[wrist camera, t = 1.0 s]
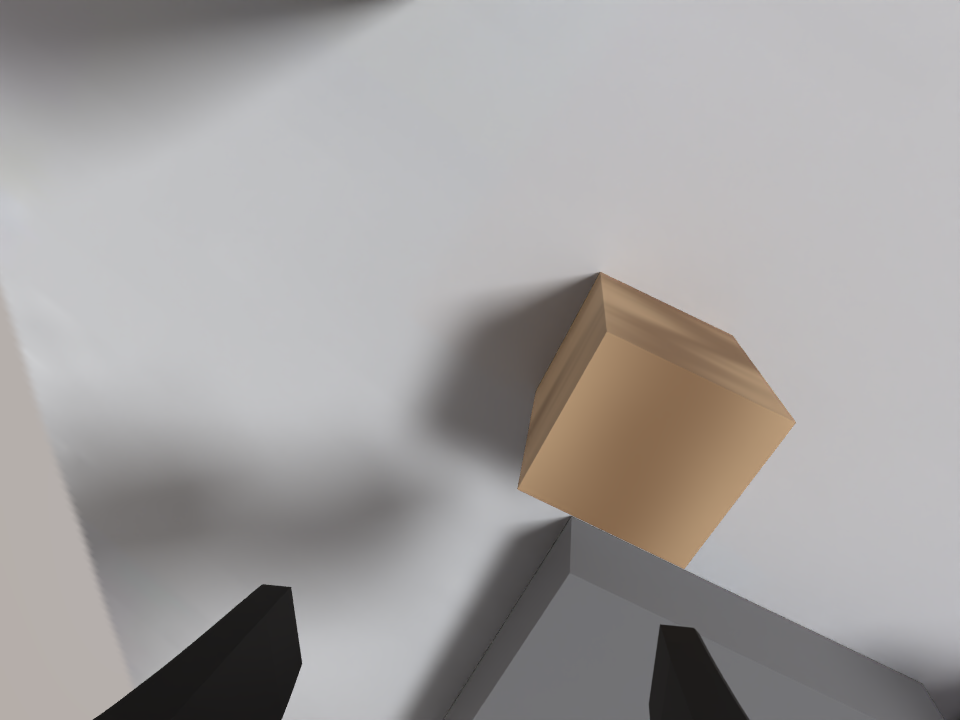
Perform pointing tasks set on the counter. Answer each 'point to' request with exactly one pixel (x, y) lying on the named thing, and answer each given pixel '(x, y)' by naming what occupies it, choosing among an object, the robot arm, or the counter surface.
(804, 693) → the slate base
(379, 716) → the counter surface
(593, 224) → the counter surface
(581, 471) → the oak block
